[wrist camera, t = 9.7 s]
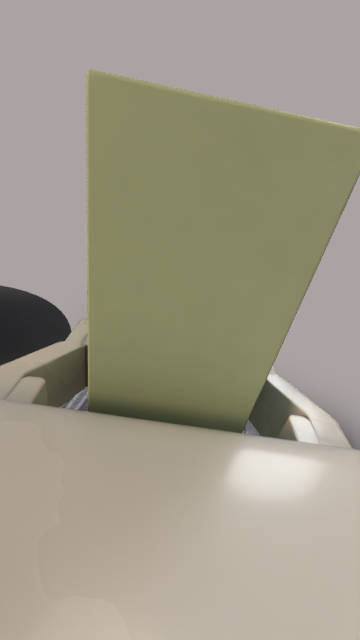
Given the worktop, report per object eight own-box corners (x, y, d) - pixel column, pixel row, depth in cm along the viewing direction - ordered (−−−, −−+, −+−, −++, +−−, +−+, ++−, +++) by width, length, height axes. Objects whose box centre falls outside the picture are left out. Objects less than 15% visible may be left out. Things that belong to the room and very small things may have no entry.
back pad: (88, 560, 11) (84, 66, 3) (120, 436, 17) (148, 126, 9) (180, 570, 12) (382, 131, 4) (183, 445, 17) (268, 151, 9)
